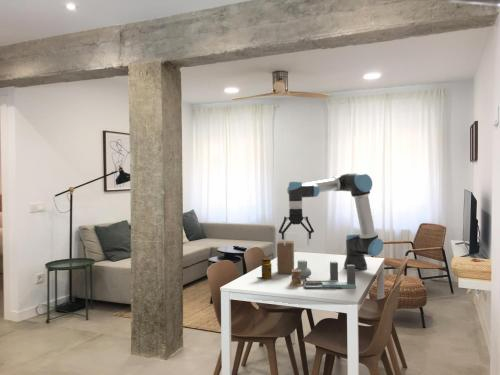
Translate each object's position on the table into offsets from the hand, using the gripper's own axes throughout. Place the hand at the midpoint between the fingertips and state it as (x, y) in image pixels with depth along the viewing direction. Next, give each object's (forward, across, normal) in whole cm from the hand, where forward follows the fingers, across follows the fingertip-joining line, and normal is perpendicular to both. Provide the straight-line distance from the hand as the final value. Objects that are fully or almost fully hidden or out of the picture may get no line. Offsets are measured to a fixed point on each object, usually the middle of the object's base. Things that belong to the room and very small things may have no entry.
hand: (296, 245), depth 240 cm
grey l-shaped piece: (+23, -23, +6) cm, 33 cm away
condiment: (+23, +19, -14) cm, 33 cm away
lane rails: (+23, -14, +2) cm, 27 cm away
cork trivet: (+23, 0, +1) cm, 23 cm away
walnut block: (+22, 0, +1) cm, 22 cm away
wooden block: (+23, +6, -30) cm, 39 cm away
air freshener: (+23, -4, -17) cm, 29 cm away
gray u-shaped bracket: (+23, -14, -3) cm, 27 cm away
